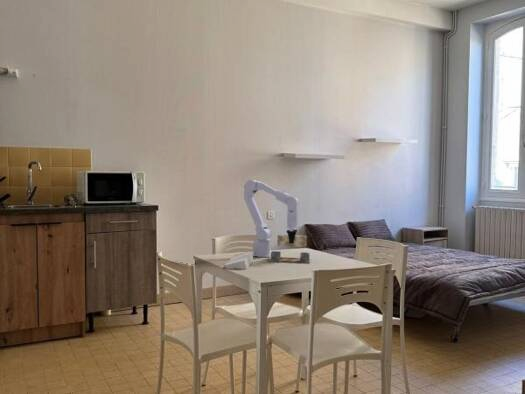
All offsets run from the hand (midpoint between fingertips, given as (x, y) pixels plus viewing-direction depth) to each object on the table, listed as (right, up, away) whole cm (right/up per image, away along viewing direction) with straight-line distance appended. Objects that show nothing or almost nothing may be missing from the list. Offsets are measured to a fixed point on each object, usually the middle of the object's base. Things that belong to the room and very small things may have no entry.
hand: (291, 243), depth 285 cm
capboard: (-1, -9, -11) cm, 14 cm away
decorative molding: (-28, -9, -22) cm, 37 cm away
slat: (0, -2, 0) cm, 2 cm away
